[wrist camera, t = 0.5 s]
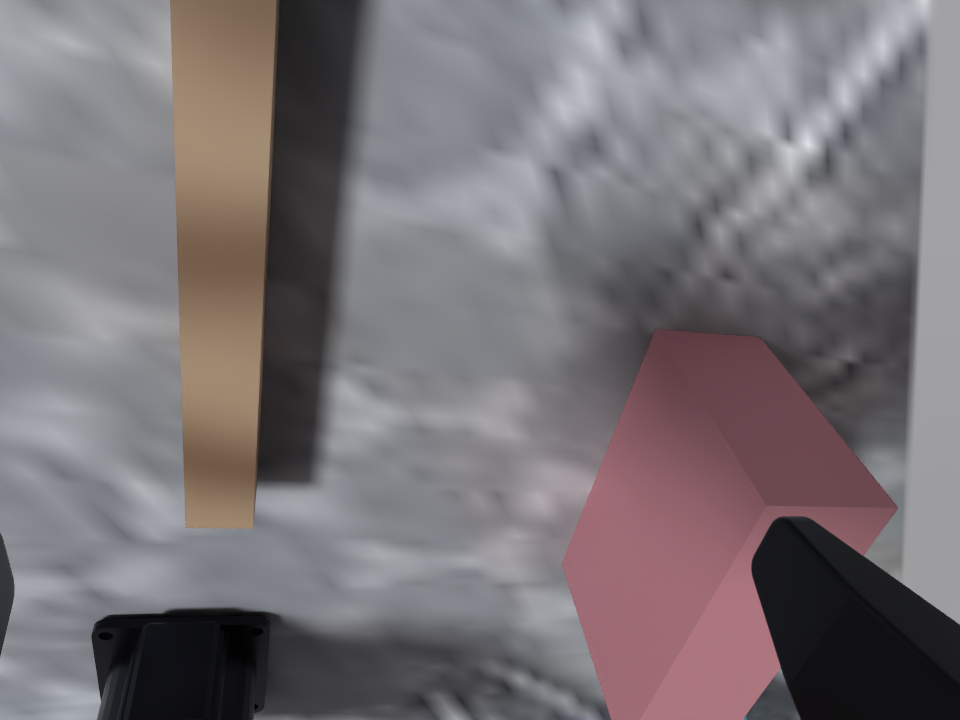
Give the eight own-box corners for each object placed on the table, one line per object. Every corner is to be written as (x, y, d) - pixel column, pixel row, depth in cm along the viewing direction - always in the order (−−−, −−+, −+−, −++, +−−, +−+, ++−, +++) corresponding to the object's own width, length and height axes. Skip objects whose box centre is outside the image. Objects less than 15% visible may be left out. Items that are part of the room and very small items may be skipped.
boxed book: (647, 561, 33) (724, 743, 27) (561, 562, 32) (620, 751, 26) (758, 335, 26) (898, 508, 20) (654, 327, 25) (766, 506, 19)
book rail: (257, 472, 26) (252, 528, 24) (195, 470, 25) (185, 527, 23) (287, -149, 16) (282, -140, 14) (184, -172, 15) (165, -166, 13)
